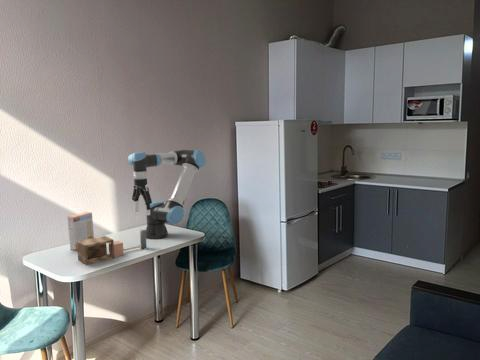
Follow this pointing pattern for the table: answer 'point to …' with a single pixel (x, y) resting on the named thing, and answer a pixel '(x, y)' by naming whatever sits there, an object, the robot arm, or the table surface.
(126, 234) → the table surface
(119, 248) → the u-shaped stand
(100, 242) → the cubby
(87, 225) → the cracker box
